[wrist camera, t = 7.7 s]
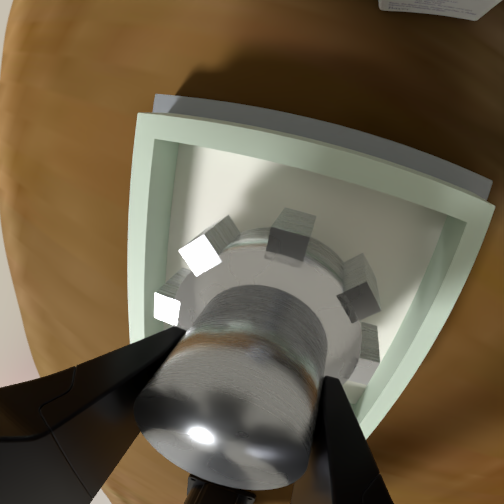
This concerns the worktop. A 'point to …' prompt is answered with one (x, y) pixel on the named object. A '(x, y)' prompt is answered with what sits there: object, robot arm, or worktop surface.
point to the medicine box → (442, 7)
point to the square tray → (312, 202)
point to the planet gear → (256, 350)
